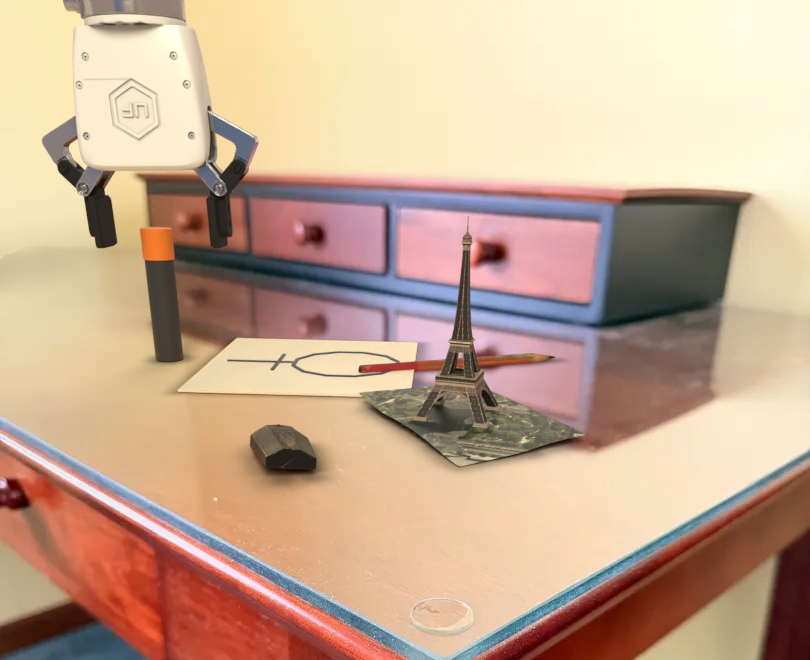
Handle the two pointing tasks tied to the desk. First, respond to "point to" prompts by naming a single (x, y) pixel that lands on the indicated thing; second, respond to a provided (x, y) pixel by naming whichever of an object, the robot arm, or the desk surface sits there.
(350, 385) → the paper
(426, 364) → the pencil
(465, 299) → the eiffel tower figurine
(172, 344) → the marker
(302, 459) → the block
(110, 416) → the desk surface
